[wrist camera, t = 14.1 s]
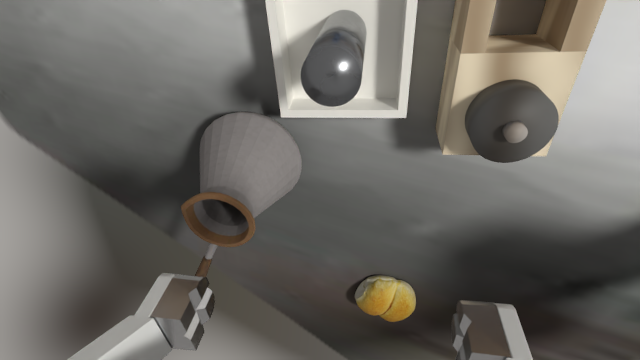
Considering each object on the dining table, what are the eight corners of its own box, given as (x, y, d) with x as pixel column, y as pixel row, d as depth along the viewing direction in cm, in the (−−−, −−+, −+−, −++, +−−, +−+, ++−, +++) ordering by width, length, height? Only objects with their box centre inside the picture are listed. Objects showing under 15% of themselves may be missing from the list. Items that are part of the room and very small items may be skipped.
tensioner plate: (589, -61, 26) (661, -54, 20) (526, 129, 36) (560, 177, 29) (463, -54, 27) (491, -45, 21) (435, 128, 37) (448, 174, 30)
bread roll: (397, 312, 58) (398, 336, 54) (349, 293, 56) (347, 316, 53) (427, 287, 53) (430, 310, 50) (375, 265, 51) (374, 288, 48)
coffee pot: (222, 83, 37) (150, 162, 25) (321, 128, 39) (298, 222, 27) (187, 213, 49) (127, 308, 38) (262, 243, 51) (228, 342, 39)
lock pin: (366, 8, 30) (361, 45, 21) (366, 55, 32) (361, 106, 24) (320, 10, 31) (297, 47, 22) (323, 56, 33) (303, 106, 24)
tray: (419, -66, 27) (423, -64, 24) (403, 102, 36) (406, 118, 33) (269, -57, 29) (257, -54, 26) (288, 102, 37) (281, 117, 34)
